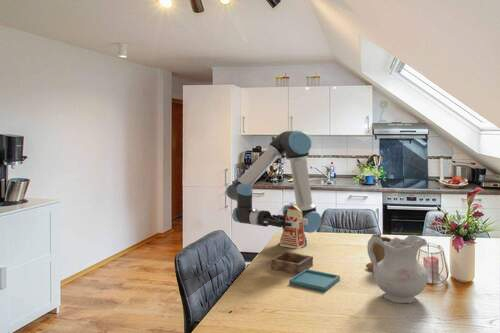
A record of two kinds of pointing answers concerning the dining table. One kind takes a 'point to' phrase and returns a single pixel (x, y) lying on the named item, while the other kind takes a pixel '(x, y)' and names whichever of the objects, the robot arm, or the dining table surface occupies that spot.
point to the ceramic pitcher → (399, 268)
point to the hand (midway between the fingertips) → (302, 223)
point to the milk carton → (293, 229)
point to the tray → (314, 280)
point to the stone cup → (378, 252)
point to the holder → (291, 262)
